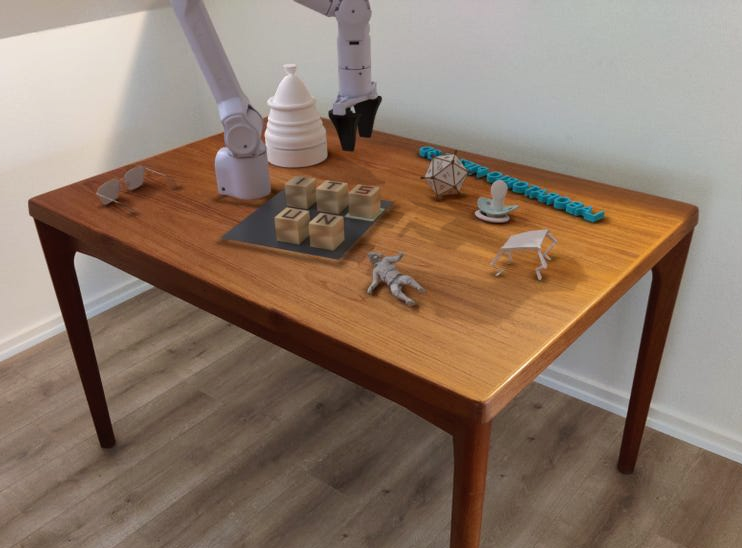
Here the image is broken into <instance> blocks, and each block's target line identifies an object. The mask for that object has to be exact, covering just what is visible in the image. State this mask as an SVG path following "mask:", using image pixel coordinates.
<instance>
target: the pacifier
mask: <svg viewBox="0 0 742 548" xmlns="http://www.w3.org/2000/svg"><path fill="white" fill-rule="evenodd" d="M507 193H508V189H507V185H506V183H505V182H503V181H501V180H498V181H495V182H494V183H491V188H490V195H491V196H492V199H491V198H489V197H485V196H480V197H479V198H478V199H477V206H478V208H479V209H477V210H476V211H475V212H474V215H475V216H476V218H478V219H480V220H482V221H485V222H489V223H494V224H495V223H499V224H501V223H507V222H509V220H510V219H511V218H510V216H509V214H510V213H512V212H514V211H516V210H517V209H518V208H519V204H513V205H506V206H505V205H504V204H505V203H504V202H505V197H506V196H507ZM484 214H486V215H484Z"/></svg>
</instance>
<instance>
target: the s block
mask: <svg viewBox="0 0 742 548" xmlns="http://www.w3.org/2000/svg"><path fill="white" fill-rule="evenodd" d="M348 195H349V215H350V216H356V217H362V218H368V219H372V218H373V217H374V216H375V215H376V214H377V213H378V212H379V211H380V200H381V187H380V186H374V185H368V184H367V185H366V184H359V183H358V184H357V185H356V186H354V187H353V188H352V189H351V190H350V191H348Z"/></svg>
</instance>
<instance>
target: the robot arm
mask: <svg viewBox="0 0 742 548" xmlns="http://www.w3.org/2000/svg"><path fill="white" fill-rule="evenodd" d="M293 2H295V3H296V4H298V5H301V6H303V7H305V8H308V9H309V10H312V11H314V12H317V13H318V14H320V15H322V16H325V17H327V18H335V20H336V22H337V36H336V51H337V53H336V55H337V76H338V91H337V95H336V98H335V100H334V101H333V102H332V108H331V109H330V110H328V113H327V114H328V115H327V116H328V119H329V120H330V121H331V123H332V125H333V126H334V129H335V131H336V133H337V134H336V135H337V136H338V140H339V143H340V147H341V150H342V151H345V152H351V153H352V152H354V151H355V148H356V141H357V131H358V135H359V138H366V139H370V138H372V135H373V130H374V124H375V120H376V117H377V113H378V110H379V108H380V106H381V104H382V101H383V96H382V95H379V93H378V92H377V91H378V90H377V86H378V85H377V84H378V83H377V81H372V42H371V41H372V40H371V35H370V31H371V24H370V20H371V18H372V13H373V11H372V9H371V4H370V0H293ZM169 3H170V6H171V8H172V10H173V12H174V14H175V16H176V18H177V20H178V23H179V25H180V27H181V29H182V31H183V34H184V36H185V38H186V40H187V42H188V45H189V46H190V48H191V51H192V54H193V55H194V57H195V60H196V62H197V63H198V66H199V68H200V71H201V73H202V75H203V76H204V79H205V81H206V82H207V85H208V88H209V89H210V91H211V95H212V96H213V98H214V100H215V102H216V104H217V109H218V113H219V114H218V115H219V120H220V123H221V125H222V127H223V131H224V134H223V139H224V140H223V141H224V144H225V146H224V147H221V148H220V149H219V150H218V151H217V152H216V155H215V158H214V159H215V160H214V170H215V171H214V172H215V175H216V176H215V177H216V184H217V191H218V194H219V195H223V196H229V197H233V198H237V199H240V200H245V201H246V200H247V201H248V200H249V201H250V200H258V199H262V198H265V197H267V196H269V195H270V194H271V193H272V187H271V186H272V185H271V176H270V167H269V161H268V157H267V148H266V145H265V142H264V141H263V139H262V138H261V137H262V133H263V132H264V127H265V123H264V118H263V116H262V114H261V113H260V111H258V110H257V109H256V108H255V107H254V106H253V104H252V103H251V101H250V99H249V97H248V96H247V95H246V93H244V91H243V90H242V87H241V84H240V83H239V79H238V78H237V76H236V73H235V71H234V69H233V66H232V64H231V61H230V59H229V57H228V55H227V53H226V51H225V48H224V46H223V43H222V41H221V39H220V37H219V35H218V33H217V30H216V28H215V25H214V23H213V21H212V18H211V17H210V14H209V12H208V10H207V7H206V4H205V3H204V0H169ZM352 107H353V110H352ZM353 111H354V112H353Z"/></svg>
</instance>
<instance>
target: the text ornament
mask: <svg viewBox="0 0 742 548" xmlns="http://www.w3.org/2000/svg"><path fill="white" fill-rule="evenodd" d="M430 153H431V154H433V156H434V157H435V156H442V155H443V154H442V150H440V149H435V147H432V146H422V147H420V148H419V156H421V157H423V158H426V157H427V159H428V160H430V161H431V160H432V157H431V156H430ZM449 154H450V153H448V152H446V153H445V155H449ZM459 160H460V161H461V162H462V164H463V165H464V166H465V168H466V169H467V170H468V171H469V170H470V171H473V172H472V173H468V175H470V176H472V174H475V173H476V178H478V179H479V178H483V177H485V176H486V182H488V183H491V184H493V183H494V182H495V181H498V180H501V181H503V182H505V183H506V185H507V190H510V189H512V192H514V193H516V194H524V195H523V196H524V197H528V196H529V198H528V199H537V202H540V203H546V205H547V206H549V205H552V204H553V207H554V209H557V210H565V212H566V213H567V214H570V215H574V216H575V217H577V216H582V217H583V219H584V220H585V221H589V222H591V223H595V222H597V221H599V220H601V219H604V218H605V213H606V211H604V210H601V211H599V212H596V213H595V214H592V211H593V206H585V203H583V202H581V201H578V200H577V201H576V200H575V201H572V200H571V198H569V197H567V196H560V194H559V193H556V192H548V193H547V190H548V189H546V188H545V189H544V188H543V189H541V187H540V186H537V185H535V184H530V187H529V182H527V181H522V180H521V181H520V179H518V178H515V177H511V176H510V175H507V174H505V175H504V176H503V173H502V172H499V171H491V172H490V168H488V167H486V166H482V165H481V164H477V163H476V162H473V161H469V160H467V159H464V158H461V159H459Z"/></svg>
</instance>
